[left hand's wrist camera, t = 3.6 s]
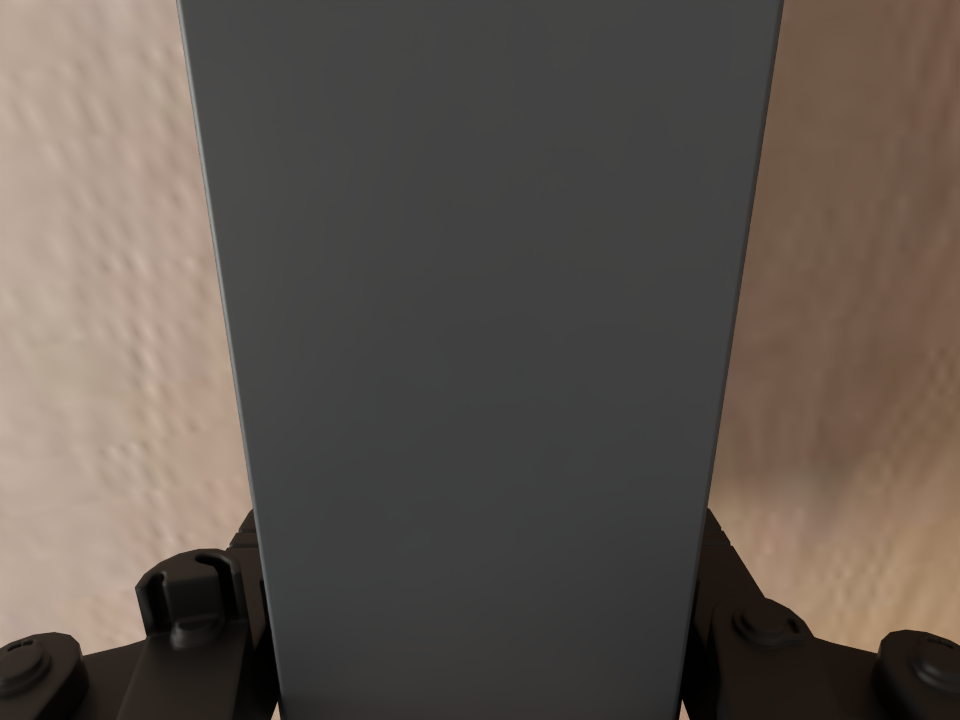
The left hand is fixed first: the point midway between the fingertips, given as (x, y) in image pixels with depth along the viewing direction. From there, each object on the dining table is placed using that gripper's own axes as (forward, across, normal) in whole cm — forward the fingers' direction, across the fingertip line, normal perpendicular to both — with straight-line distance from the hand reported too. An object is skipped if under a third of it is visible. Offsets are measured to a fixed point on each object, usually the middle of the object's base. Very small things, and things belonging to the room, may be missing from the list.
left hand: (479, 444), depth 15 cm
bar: (+1, 0, -8) cm, 8 cm away
